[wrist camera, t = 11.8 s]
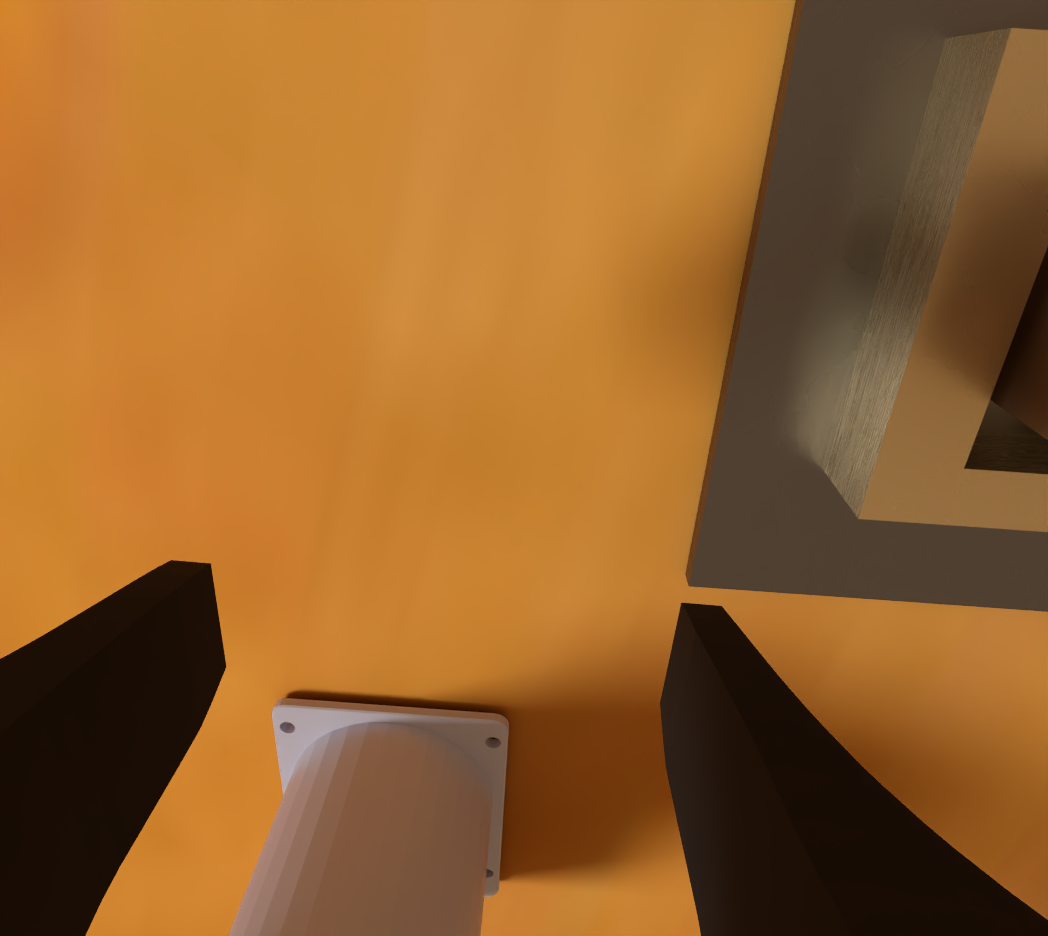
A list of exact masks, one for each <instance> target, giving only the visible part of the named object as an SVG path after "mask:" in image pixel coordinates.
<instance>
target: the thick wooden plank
mask: <svg viewBox="0 0 1048 936" xmlns="http://www.w3.org/2000/svg"><path fill="white" fill-rule="evenodd" d="M990 400H991V401H993V402H994V403H995V404H997V405H998V406H1000V407H1001V408H1003V409H1004V410H1005V411H1007V412H1008V413H1010V414H1011V415H1013V416H1014V417H1015V418H1017V419H1018V420H1020V421H1021V422H1023V423H1024V424H1026V425H1027V426H1028V427H1030V428H1031V429H1033V430H1034V431H1036V432H1037V433H1038V434H1040V435H1041V436H1043V437H1044V438H1046V439H1047V440H1048V247H1047V250H1046V252H1045V255H1044V257H1043V260H1042V263H1041V265H1040V268H1039V271H1038V273H1037V276H1036V279H1035V281H1034V284H1033V287H1032V289H1031V292H1030V295H1029V297H1028V300H1027V303H1026V305H1025V308H1024V311H1023V313H1022V316H1021V319H1020V321H1019V324H1018V326H1017V329H1016V332H1015V334H1014V337H1013V340H1012V342H1011V345H1010V348H1009V350H1008V353H1007V356H1006V358H1005V361H1004V364H1003V366H1002V369H1001V372H1000V374H999V377H998V380H997V382H996V385H995V388H994V390H993V393H992V396H991V398H990Z"/></svg>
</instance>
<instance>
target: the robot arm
mask: <svg viewBox="0 0 1048 936" xmlns="http://www.w3.org/2000/svg"><path fill="white" fill-rule="evenodd" d="M225 668H226V662H225V655H224V648H223V642H222V635H221V629H220V622H219V615H218V609H217V602H216V596H215V589H214V582H213V576H212V569H211V564H210V563H197V562H185V561H173V560H171V561H169V562H167V563H165V564H163V565H161V566H159V567H157V568H156V569H154V570H152V571H150V572H149V573H147V574H145V575H143V576H142V577H140V578H138V579H137V580H135V581H133V582H132V583H130V584H128V585H127V586H125V587H123V588H122V589H120V590H118V591H117V592H115V593H113V594H112V595H110V596H108V597H107V598H105V599H103V600H102V601H100V602H98V603H97V604H95V605H93V606H92V607H90V608H88V609H87V610H85V611H83V612H82V613H80V614H78V615H77V616H75V617H73V618H72V619H70V620H68V621H67V622H65V623H63V624H62V625H60V626H58V627H56V628H55V629H53V630H51V631H50V632H48V633H46V634H45V635H43V636H41V637H40V638H38V639H36V640H34V641H32V642H31V643H29V644H27V645H25V646H23V647H21V648H20V649H18V650H16V651H14V652H12V653H11V654H9V655H7V656H5V657H3V658H1V659H0V936H85V935H86V933H87V931H88V929H89V927H90V924H91V922H92V920H93V918H94V916H95V914H96V912H97V909H98V907H99V905H100V903H101V901H102V899H103V897H104V895H105V893H106V892H107V890H108V888H109V886H110V884H111V882H112V880H113V878H114V877H115V875H116V873H117V871H118V869H119V867H120V866H121V864H122V862H123V860H124V859H125V857H126V855H127V854H128V852H129V850H130V848H131V847H132V845H133V843H134V842H135V840H136V838H137V837H138V835H139V833H140V831H141V830H142V828H143V826H144V825H145V823H146V821H147V820H148V818H149V816H150V814H151V813H152V811H153V809H154V808H155V806H156V804H157V802H158V801H159V799H160V797H161V796H162V794H163V792H164V791H165V789H166V787H167V785H168V784H169V782H170V780H171V779H172V777H173V775H174V773H175V772H176V770H177V768H178V767H179V765H180V763H181V761H182V760H183V758H184V756H185V754H186V753H187V751H188V749H189V747H190V746H191V744H192V742H193V740H194V739H195V737H196V735H197V733H198V731H199V730H200V728H201V726H202V724H203V721H204V719H205V717H206V714H207V712H208V710H209V708H210V705H211V703H212V701H213V698H214V696H215V693H216V691H217V688H218V686H219V683H220V681H221V678H222V676H223V673H224V671H225ZM660 706H661V718H662V730H663V742H664V752H665V762H666V769H667V774H668V779H669V784H670V789H671V793H672V798H673V803H674V808H675V812H676V817H677V822H678V826H679V831H680V836H681V840H682V845H683V850H684V854H685V859H686V864H687V868H688V873H689V878H690V882H691V887H692V891H693V896H694V901H695V905H696V910H697V915H698V920H699V926H700V932H701V936H1048V920H1047V919H1045V918H1044V917H1043V916H1041V915H1040V914H1039V913H1037V912H1036V911H1035V910H1033V909H1032V908H1031V907H1029V906H1028V905H1026V904H1025V903H1024V902H1022V901H1021V900H1020V899H1018V898H1017V897H1016V896H1014V895H1013V894H1012V893H1010V892H1009V891H1008V890H1006V889H1005V888H1004V887H1002V886H1001V885H1000V884H999V883H997V882H996V881H995V880H994V879H992V878H991V877H990V876H989V875H987V874H986V873H985V872H983V871H982V870H981V869H980V868H978V867H977V866H976V865H975V864H973V863H972V862H971V861H970V860H968V859H967V858H966V857H964V856H963V855H962V854H961V853H959V852H958V851H957V850H956V849H954V848H953V847H952V846H951V845H950V844H948V843H947V842H946V841H945V840H944V839H942V838H941V837H940V836H939V835H938V834H936V833H935V832H934V831H933V830H932V829H930V828H929V827H928V826H927V825H926V824H925V823H923V822H922V821H921V820H920V819H919V818H918V817H917V816H916V815H914V814H913V813H912V812H911V811H910V810H909V809H908V808H907V807H906V806H904V805H903V804H902V803H901V802H900V801H899V800H898V799H897V798H896V797H894V796H893V795H892V794H891V793H890V792H889V791H888V790H887V789H886V788H884V787H883V786H882V785H881V784H880V783H879V782H878V781H877V780H876V779H875V778H874V777H873V776H872V775H871V774H870V773H869V772H868V771H866V770H865V769H864V768H863V767H862V766H861V765H860V764H859V763H858V762H857V761H856V760H855V759H854V758H853V757H852V756H851V755H850V754H849V752H848V751H847V750H846V749H845V748H844V747H843V746H842V745H841V744H840V743H839V742H838V741H837V740H836V739H835V738H834V737H833V736H832V735H831V734H830V733H829V732H828V731H827V730H826V729H825V728H824V727H823V726H822V725H821V723H820V722H819V721H818V720H817V719H816V718H815V717H814V716H813V715H812V714H811V713H810V711H809V710H808V709H807V708H806V707H805V706H804V705H803V704H802V702H801V701H800V700H799V699H798V698H797V697H796V696H795V694H794V693H793V692H792V691H791V690H790V689H789V688H788V686H787V685H786V684H785V683H784V682H783V681H782V679H781V678H780V677H779V676H778V675H777V673H776V672H775V671H774V670H773V669H772V667H771V666H770V665H769V664H768V663H767V661H766V660H765V659H764V658H763V656H762V655H761V654H760V653H759V652H758V650H757V649H756V648H755V647H754V645H753V644H752V643H751V642H750V640H749V639H748V638H747V637H746V635H745V634H744V633H743V632H742V631H741V629H740V628H739V627H738V626H737V624H736V623H735V622H734V621H733V619H732V618H731V617H730V616H729V615H728V613H727V612H726V611H725V610H724V608H723V607H722V606H714V605H702V604H690V603H681V607H680V612H679V617H678V622H677V626H676V631H675V636H674V640H673V645H672V650H671V655H670V659H669V664H668V669H667V673H666V678H665V683H664V688H663V692H662V697H661V702H660ZM272 720H273V727H274V734H275V741H276V748H277V755H278V762H279V769H280V776H281V783H282V790H283V798H282V801H281V803H280V806H279V808H278V811H277V813H276V816H275V818H274V821H273V823H272V826H271V829H270V831H269V834H268V836H267V839H266V841H265V844H264V846H263V849H262V851H261V854H260V856H259V859H258V862H257V864H256V867H255V869H254V872H253V874H252V877H251V879H250V882H249V884H248V887H247V889H246V892H245V895H244V897H243V900H242V902H241V905H240V907H239V910H238V912H237V915H236V917H235V920H234V922H233V925H232V927H231V930H230V933H229V935H228V936H480V934H481V923H482V913H483V902H484V897H490V896H493V895H495V894H496V893H497V892H498V889H499V876H500V860H501V845H502V829H503V813H504V797H505V782H506V766H507V750H508V734H509V722H508V720H507V719H506V718H505V717H504V716H502V715H500V714H496V713H484V712H470V711H456V710H443V709H429V708H415V707H402V706H388V705H374V704H361V703H347V702H333V701H320V700H306V699H292V698H285V699H281V700H279V701H277V703H276V704H275V706H274V708H273V710H272ZM287 722H289V723H291V724H289V723H287ZM490 737H495V738H498V739H491V738H490Z"/></svg>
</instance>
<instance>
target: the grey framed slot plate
mask: <svg viewBox="0 0 1048 936" xmlns="http://www.w3.org/2000/svg"><path fill="white" fill-rule="evenodd" d="M1047 247H1048V0H796V3H795V8H794V13H793V18H792V23H791V29H790V34H789V39H788V44H787V49H786V55H785V60H784V65H783V70H782V75H781V81H780V86H779V91H778V96H777V101H776V106H775V112H774V117H773V122H772V127H771V132H770V138H769V143H768V148H767V153H766V158H765V164H764V169H763V174H762V179H761V184H760V190H759V195H758V200H757V205H756V210H755V216H754V221H753V226H752V231H751V236H750V242H749V247H748V252H747V257H746V262H745V268H744V273H743V278H742V283H741V288H740V294H739V299H738V304H737V309H736V314H735V320H734V325H733V330H732V335H731V340H730V346H729V351H728V356H727V361H726V366H725V372H724V377H723V382H722V387H721V392H720V398H719V403H718V408H717V413H716V418H715V424H714V429H713V434H712V439H711V444H710V450H709V455H708V460H707V465H706V470H705V476H704V481H703V486H702V491H701V496H700V502H699V507H698V512H697V517H696V522H695V528H694V533H693V538H692V543H691V548H690V554H689V559H688V564H687V569H686V578H687V582H688V585H689V586H694V587H708V588H722V589H736V590H750V591H764V592H778V593H793V594H807V595H821V596H835V597H849V598H863V599H878V600H892V601H906V602H920V603H934V604H948V605H962V606H977V607H991V608H1005V609H1019V610H1033V611H1047V612H1048V440H1047V439H1046V438H1044V437H1043V436H1041V435H1040V434H1038V433H1037V432H1036V431H1034V430H1033V429H1031V428H1030V427H1028V426H1027V425H1026V424H1024V423H1023V422H1021V421H1020V420H1018V419H1017V418H1015V417H1014V416H1013V415H1011V414H1010V413H1008V412H1007V411H1005V410H1004V409H1003V408H1001V407H1000V406H998V405H997V404H995V403H994V402H993V401H991V400H990V398H991V396H992V393H993V390H994V388H995V385H996V382H997V380H998V377H999V374H1000V372H1001V369H1002V366H1003V364H1004V361H1005V358H1006V356H1007V353H1008V350H1009V348H1010V345H1011V342H1012V340H1013V337H1014V334H1015V332H1016V329H1017V326H1018V324H1019V321H1020V319H1021V316H1022V313H1023V311H1024V308H1025V305H1026V303H1027V300H1028V297H1029V295H1030V292H1031V289H1032V287H1033V284H1034V281H1035V279H1036V276H1037V273H1038V271H1039V268H1040V265H1041V263H1042V260H1043V257H1044V255H1045V252H1046V250H1047Z"/></svg>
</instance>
